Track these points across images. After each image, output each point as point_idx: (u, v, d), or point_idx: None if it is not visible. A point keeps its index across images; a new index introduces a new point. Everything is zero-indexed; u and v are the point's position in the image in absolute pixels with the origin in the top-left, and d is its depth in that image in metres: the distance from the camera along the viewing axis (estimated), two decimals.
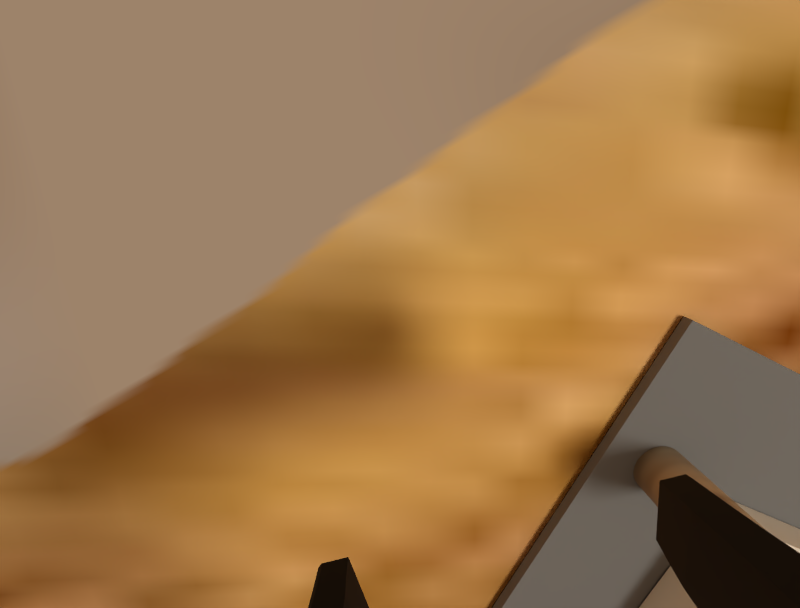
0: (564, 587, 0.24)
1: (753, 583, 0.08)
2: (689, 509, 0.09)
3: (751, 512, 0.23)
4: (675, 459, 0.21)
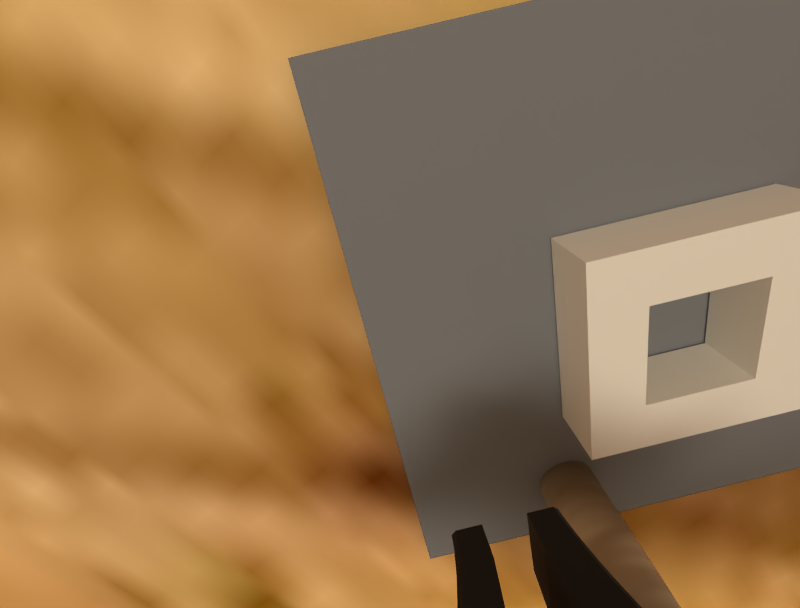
0: (734, 448, 0.21)
1: None
2: (542, 545, 0.09)
3: (566, 399, 0.18)
4: None
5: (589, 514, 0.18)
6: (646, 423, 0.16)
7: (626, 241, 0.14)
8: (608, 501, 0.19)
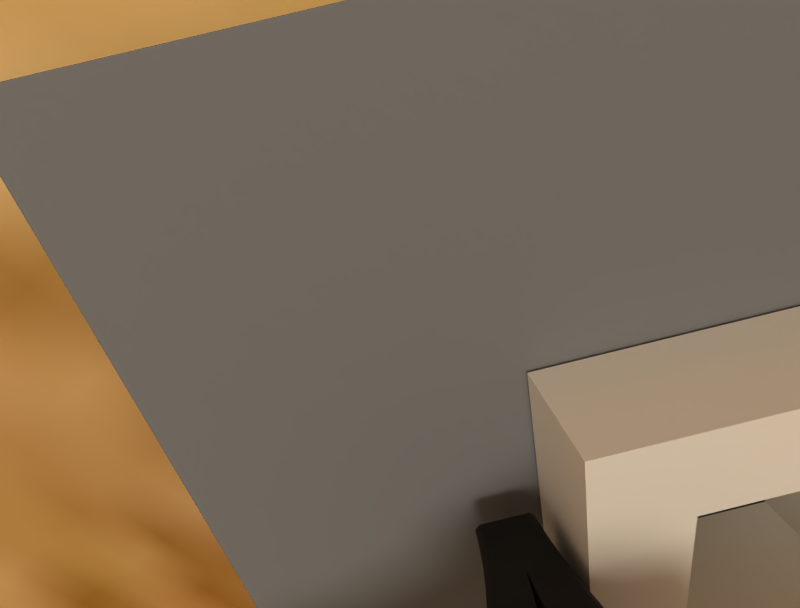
0: None
1: None
2: (516, 552, 0.09)
3: None
4: None
5: None
6: None
7: (657, 405, 0.08)
8: None
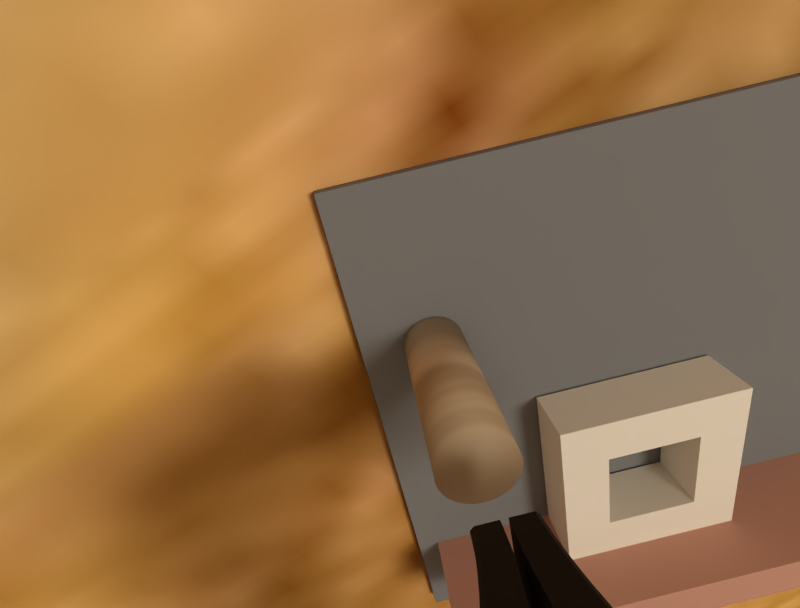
0: None
1: None
2: (522, 550, 0.09)
3: (570, 397, 0.20)
4: (418, 337, 0.17)
5: (479, 367, 0.16)
6: (589, 465, 0.19)
7: None
8: None
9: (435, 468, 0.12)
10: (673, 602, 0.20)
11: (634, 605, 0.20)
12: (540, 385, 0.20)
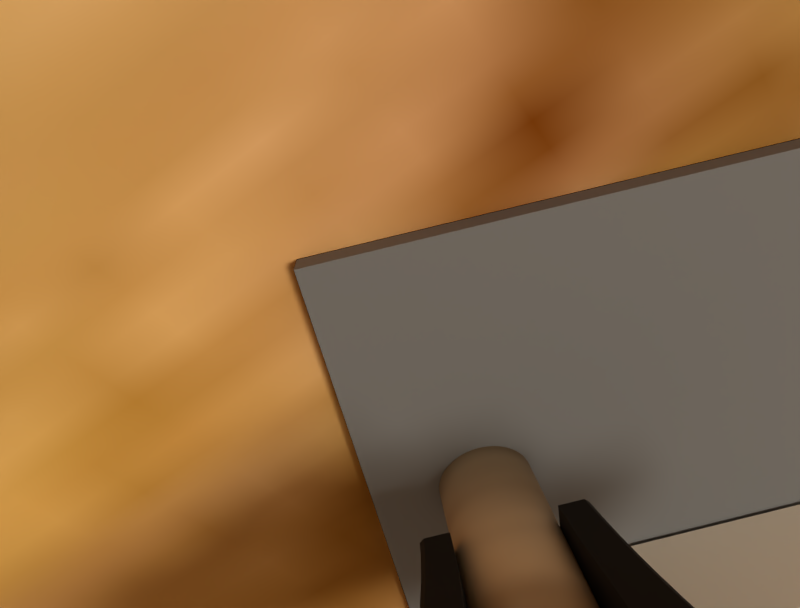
0: None
1: None
2: (577, 537, 0.09)
3: (684, 551, 0.13)
4: (466, 491, 0.11)
5: (576, 561, 0.10)
6: None
7: None
8: None
9: None
10: None
11: None
12: (638, 529, 0.14)
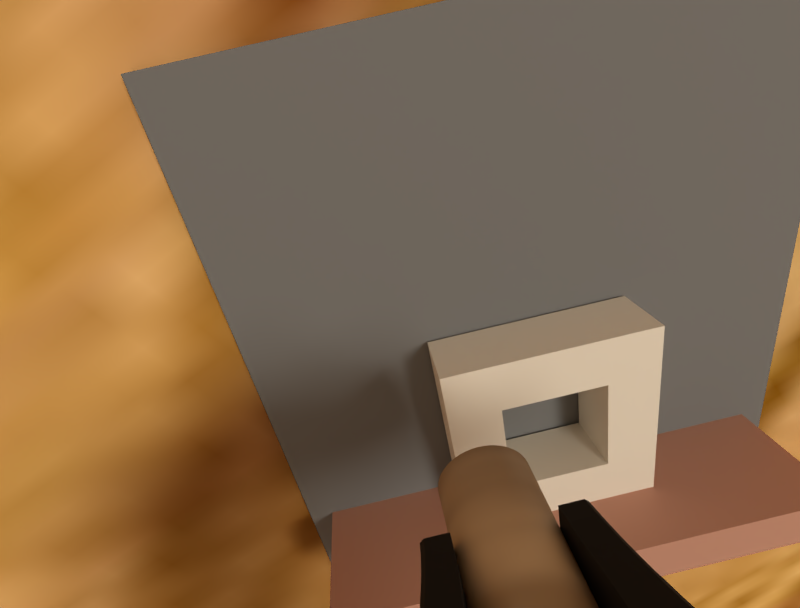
0: (341, 443, 0.20)
1: None
2: (577, 537, 0.09)
3: (463, 341, 0.17)
4: (465, 490, 0.11)
5: (575, 561, 0.09)
6: (479, 417, 0.16)
7: None
8: None
9: None
10: None
11: None
12: (431, 328, 0.18)
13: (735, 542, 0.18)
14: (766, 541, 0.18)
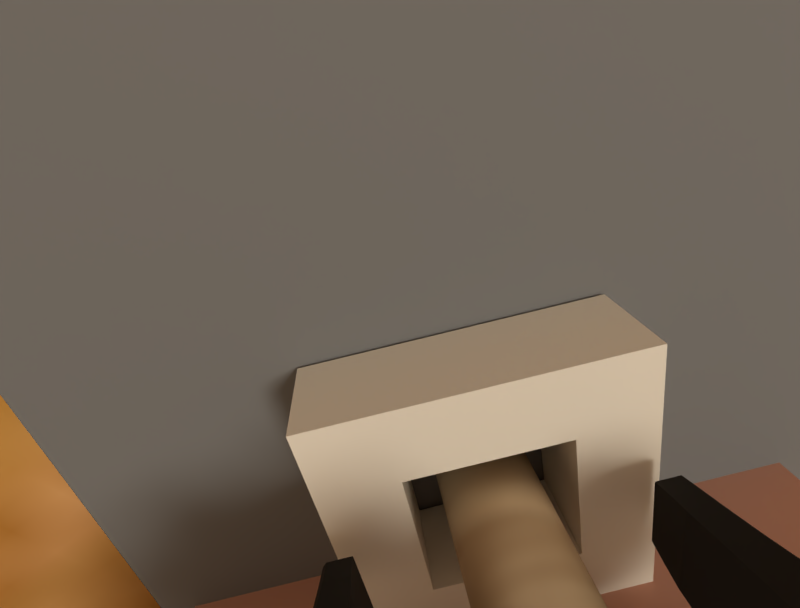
0: (190, 516, 0.13)
1: (747, 585, 0.08)
2: (684, 510, 0.09)
3: (348, 367, 0.11)
4: None
5: (551, 503, 0.11)
6: (365, 493, 0.10)
7: None
8: None
9: None
10: None
11: None
12: (302, 347, 0.11)
13: None
14: None
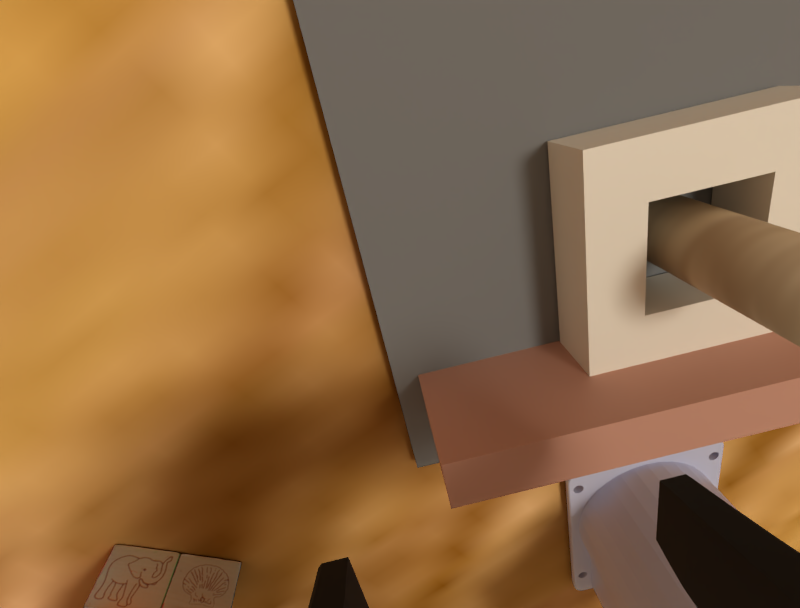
0: (436, 281, 0.17)
1: (753, 583, 0.08)
2: (689, 509, 0.09)
3: (593, 133, 0.15)
4: (659, 208, 0.16)
5: None
6: (621, 210, 0.14)
7: None
8: None
9: (797, 299, 0.10)
10: (733, 411, 0.15)
11: (681, 411, 0.14)
12: (553, 123, 0.15)
13: None
14: None
